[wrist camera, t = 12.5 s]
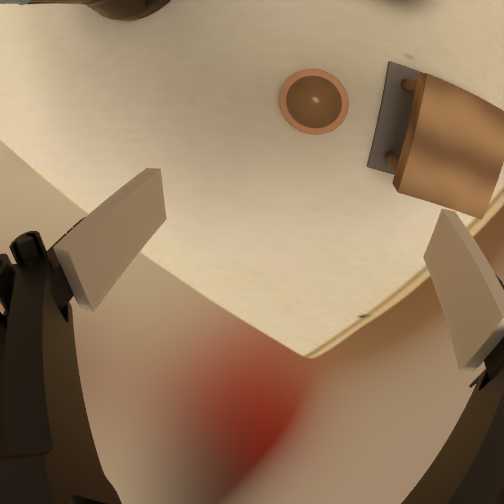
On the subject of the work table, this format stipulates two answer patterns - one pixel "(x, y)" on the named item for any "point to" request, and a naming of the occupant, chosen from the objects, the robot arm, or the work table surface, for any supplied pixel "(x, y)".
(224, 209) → the work table surface
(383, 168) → the mat
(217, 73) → the work table surface
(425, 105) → the wooden stool
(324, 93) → the pot
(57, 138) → the work table surface
